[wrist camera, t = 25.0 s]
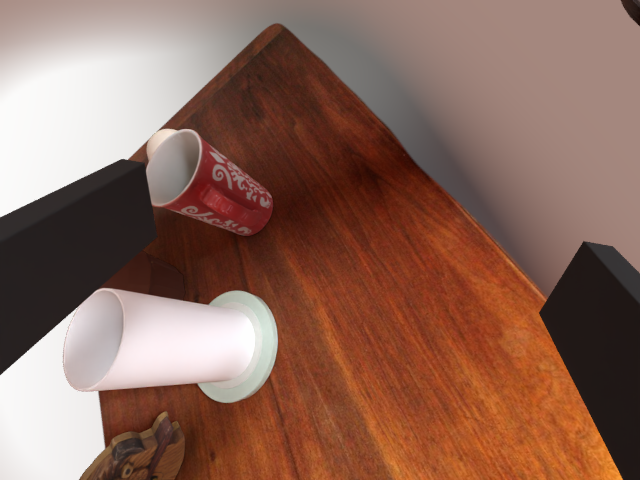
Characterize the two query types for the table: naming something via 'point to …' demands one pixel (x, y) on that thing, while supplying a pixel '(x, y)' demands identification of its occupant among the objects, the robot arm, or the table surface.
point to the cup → (153, 342)
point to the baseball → (157, 140)
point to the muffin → (148, 278)
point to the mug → (206, 185)
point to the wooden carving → (141, 454)
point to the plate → (261, 356)
